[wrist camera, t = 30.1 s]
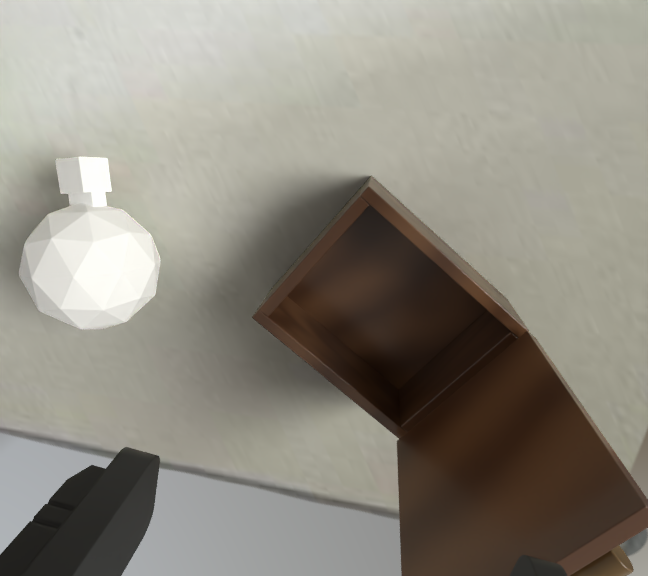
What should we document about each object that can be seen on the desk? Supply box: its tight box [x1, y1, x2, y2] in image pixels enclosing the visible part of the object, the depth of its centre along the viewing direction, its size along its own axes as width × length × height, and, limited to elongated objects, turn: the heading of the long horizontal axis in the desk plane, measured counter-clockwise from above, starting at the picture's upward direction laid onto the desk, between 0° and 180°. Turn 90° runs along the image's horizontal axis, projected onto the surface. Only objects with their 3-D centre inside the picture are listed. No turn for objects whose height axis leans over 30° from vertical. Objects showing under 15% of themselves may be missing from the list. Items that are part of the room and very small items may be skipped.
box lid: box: [397, 331, 648, 576], centre depth 25 cm, size 14×12×5 cm
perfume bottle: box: [18, 157, 161, 329], centre depth 34 cm, size 9×9×12 cm
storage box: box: [252, 176, 529, 439], centre depth 34 cm, size 14×12×6 cm
